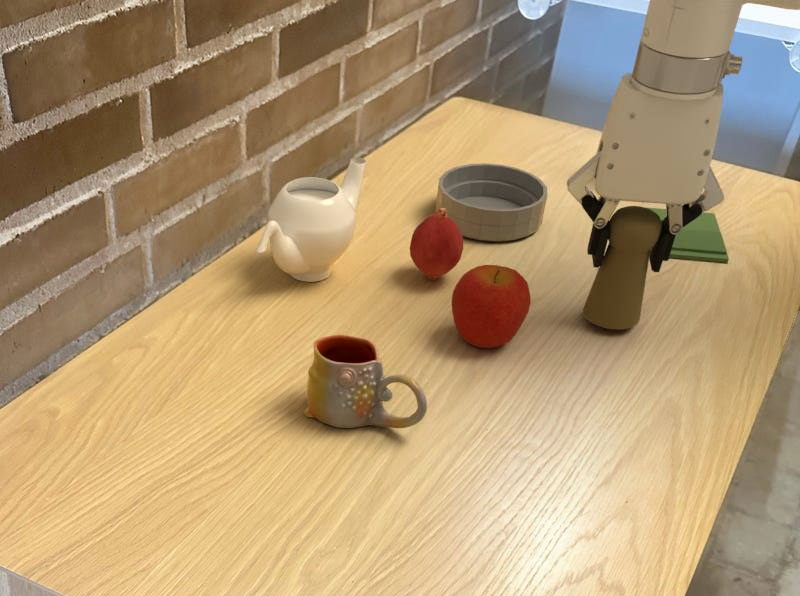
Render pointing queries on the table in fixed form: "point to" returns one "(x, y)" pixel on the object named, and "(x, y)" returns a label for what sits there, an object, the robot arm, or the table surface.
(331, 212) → the teapot
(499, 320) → the apple
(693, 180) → the robot arm
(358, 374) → the mug
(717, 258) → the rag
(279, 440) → the table surface
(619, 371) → the table surface
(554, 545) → the table surface
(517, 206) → the pan
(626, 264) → the brown tapered knob piece
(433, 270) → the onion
